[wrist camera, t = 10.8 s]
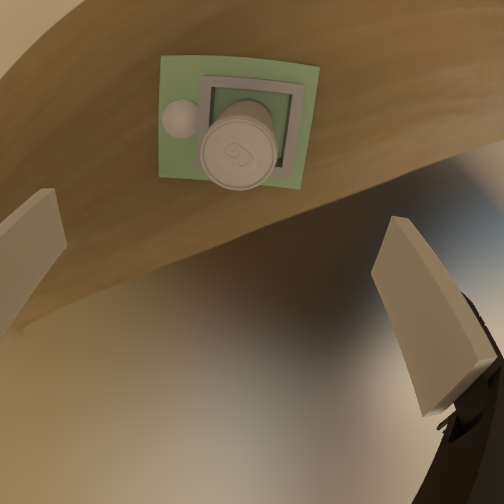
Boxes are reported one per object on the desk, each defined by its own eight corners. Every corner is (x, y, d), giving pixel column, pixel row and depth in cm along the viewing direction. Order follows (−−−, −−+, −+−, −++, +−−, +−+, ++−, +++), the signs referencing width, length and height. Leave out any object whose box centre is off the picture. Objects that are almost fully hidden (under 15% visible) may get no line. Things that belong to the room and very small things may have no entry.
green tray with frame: (162, 172, 32) (151, 186, 28) (165, 56, 24) (152, 55, 21) (298, 184, 32) (303, 199, 29) (317, 67, 25) (325, 67, 22)
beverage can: (246, 88, 25) (234, 99, 15) (283, 121, 27) (295, 154, 17) (212, 124, 27) (181, 159, 17) (249, 155, 29) (240, 207, 19)
